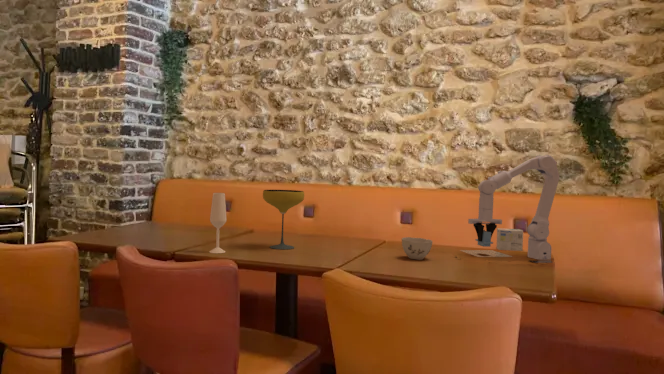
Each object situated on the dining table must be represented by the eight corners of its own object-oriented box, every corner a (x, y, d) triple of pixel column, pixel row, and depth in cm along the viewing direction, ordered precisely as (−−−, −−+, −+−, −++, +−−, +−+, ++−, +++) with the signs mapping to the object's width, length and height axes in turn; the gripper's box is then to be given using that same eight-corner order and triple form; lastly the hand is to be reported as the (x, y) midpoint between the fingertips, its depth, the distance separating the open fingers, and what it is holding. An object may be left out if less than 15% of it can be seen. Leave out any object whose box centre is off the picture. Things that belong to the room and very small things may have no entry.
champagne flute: (227, 250, 222) (229, 193, 221) (223, 253, 216) (224, 193, 215) (212, 250, 223) (213, 192, 222) (206, 252, 216) (208, 193, 215)
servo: (492, 247, 222) (493, 231, 221) (485, 247, 221) (486, 231, 221) (482, 244, 230) (482, 228, 230) (475, 244, 230) (475, 228, 229)
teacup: (427, 262, 212) (428, 242, 211) (396, 259, 217) (397, 239, 217) (436, 257, 225) (437, 238, 225) (407, 254, 231) (408, 235, 230)
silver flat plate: (513, 260, 224) (513, 256, 224) (477, 260, 220) (478, 256, 220) (491, 253, 240) (492, 250, 240) (459, 253, 237) (459, 250, 237)
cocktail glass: (256, 245, 241) (257, 189, 240) (293, 243, 248) (295, 189, 247) (268, 251, 224) (270, 191, 223) (308, 250, 232) (310, 192, 231)
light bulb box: (519, 252, 248) (520, 228, 247) (522, 254, 241) (524, 230, 241) (495, 250, 249) (496, 227, 249) (498, 253, 242) (499, 229, 242)
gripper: (496, 208, 230) (494, 239, 231) (465, 207, 227) (463, 239, 228) (505, 209, 224) (503, 242, 224) (473, 209, 220) (471, 242, 221)
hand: (484, 241), depth 225 cm, fingers closed on servo, 3 cm apart
